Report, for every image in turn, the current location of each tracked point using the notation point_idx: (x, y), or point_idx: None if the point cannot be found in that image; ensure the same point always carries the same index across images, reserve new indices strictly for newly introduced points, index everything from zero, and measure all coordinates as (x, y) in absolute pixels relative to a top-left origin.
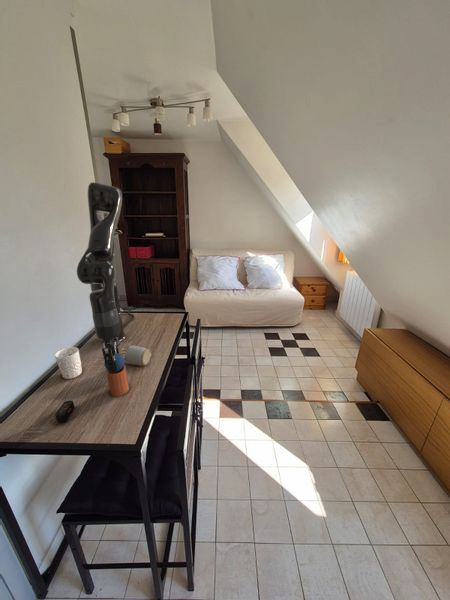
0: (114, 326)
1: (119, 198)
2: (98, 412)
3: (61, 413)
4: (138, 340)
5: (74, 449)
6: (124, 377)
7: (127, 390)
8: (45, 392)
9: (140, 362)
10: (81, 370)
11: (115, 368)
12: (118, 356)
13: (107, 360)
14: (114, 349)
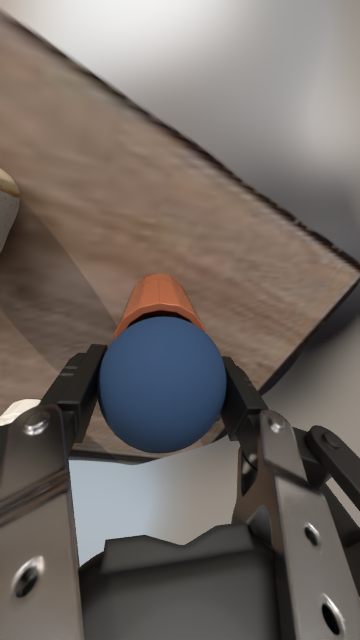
0: None
1: None
2: (221, 346)
3: (219, 414)
4: None
5: (287, 370)
6: (186, 299)
7: (175, 280)
8: (104, 438)
9: (13, 200)
10: (25, 403)
11: (233, 368)
12: (197, 394)
13: (320, 486)
14: (345, 590)
